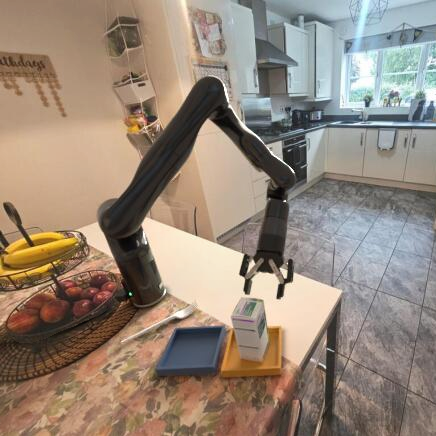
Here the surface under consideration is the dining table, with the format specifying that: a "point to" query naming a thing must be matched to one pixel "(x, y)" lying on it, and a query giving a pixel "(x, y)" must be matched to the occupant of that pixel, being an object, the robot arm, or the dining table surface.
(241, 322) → the syrup box
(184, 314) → the fork
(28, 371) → the dining table surface
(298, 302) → the dining table surface
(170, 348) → the blue tray
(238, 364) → the honey tray
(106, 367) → the dining table surface
